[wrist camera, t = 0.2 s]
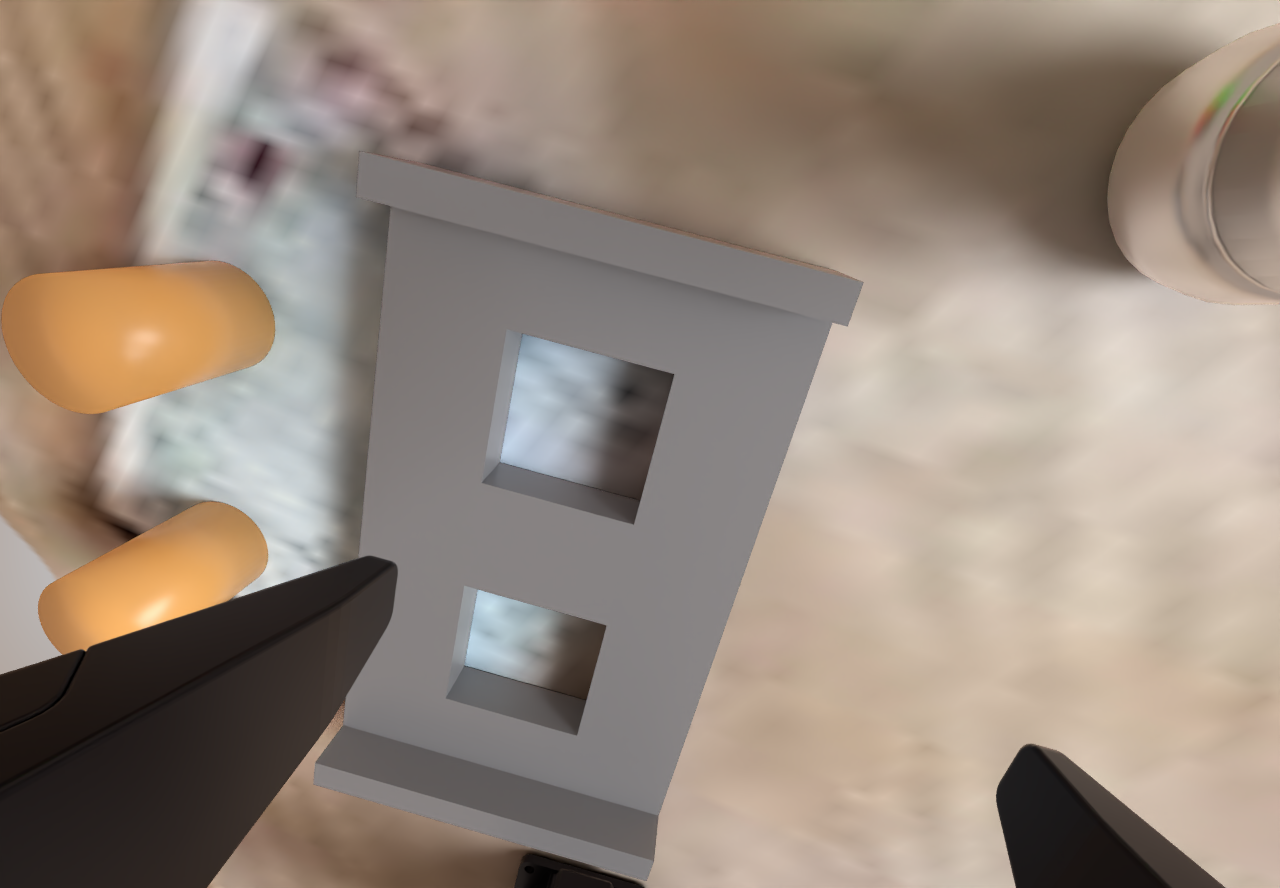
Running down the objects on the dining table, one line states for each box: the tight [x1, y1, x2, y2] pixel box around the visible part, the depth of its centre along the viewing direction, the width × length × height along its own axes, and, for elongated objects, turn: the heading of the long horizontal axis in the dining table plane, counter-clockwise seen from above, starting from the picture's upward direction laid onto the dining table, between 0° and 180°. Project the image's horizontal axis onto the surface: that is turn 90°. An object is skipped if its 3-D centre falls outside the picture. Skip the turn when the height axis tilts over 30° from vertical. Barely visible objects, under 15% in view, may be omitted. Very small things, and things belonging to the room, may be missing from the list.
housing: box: [314, 151, 864, 881], centre depth 23 cm, size 24×14×4 cm, turn 166°
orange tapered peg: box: [38, 501, 268, 655], centre depth 24 cm, size 4×4×6 cm
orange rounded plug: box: [1, 261, 275, 414], centre depth 21 cm, size 4×4×6 cm
